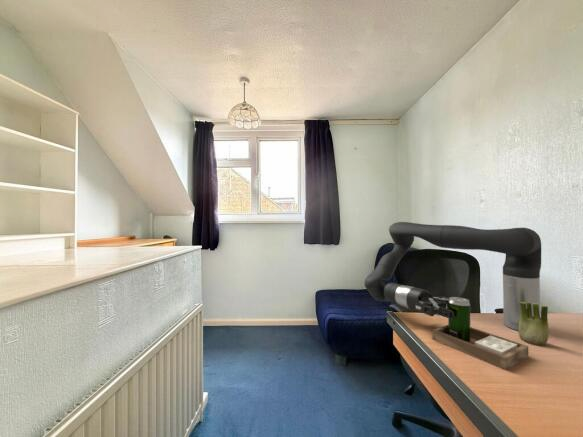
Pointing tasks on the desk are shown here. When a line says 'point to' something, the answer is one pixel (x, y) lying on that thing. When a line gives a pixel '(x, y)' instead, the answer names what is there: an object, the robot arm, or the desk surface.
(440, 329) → the crate
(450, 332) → the beer can
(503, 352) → the egg carton
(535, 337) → the fennel bulb
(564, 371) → the desk surface
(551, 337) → the desk surface
